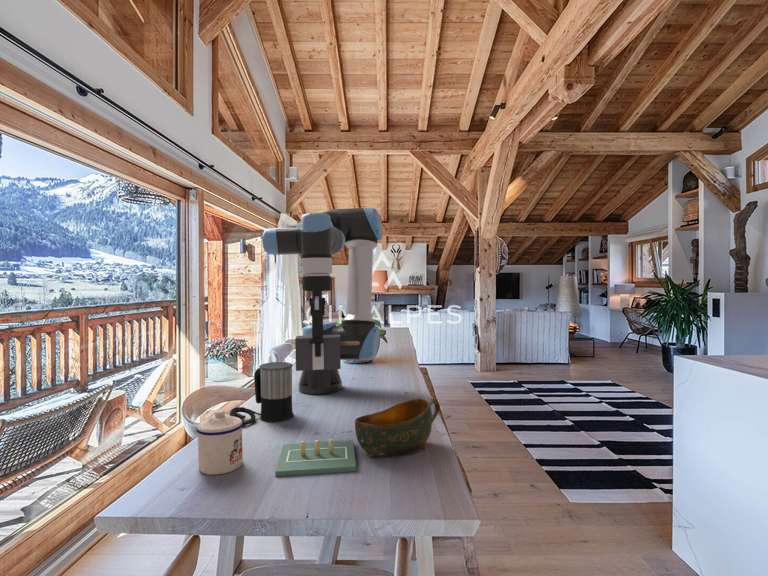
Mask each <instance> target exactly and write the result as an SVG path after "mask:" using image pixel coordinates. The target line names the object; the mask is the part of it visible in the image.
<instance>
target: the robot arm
mask: <svg viewBox="0 0 768 576" xmlns="http://www.w3.org/2000/svg"><path fill="white" fill-rule="evenodd" d="M300 219H301V220H300V222H297V223H294V224H291V225H287V226H283V227H277V226H276V227H269V228H268V227H267V228H266V229H265V230H264V231H263V234H262V238H261V241H262V247H263V250H264V252H265V253H267V254H268V255H271V256H273V255H276V256H280V255H301V261H300V262H299V263H298V264H299V267H301V273H302V275H304V276H302V278H301V289H302V291H304V292H312V297H311V298H310V297H309V298H308V299H309V301H308V304H309V307H310V309H309V310H310V316H311V324H308V325H306V326H304V327H303V330H302V336H306V335H312V341H310V344H312V354H313V370H305V371H301V374H300V377H299V381H298V391H299V392H300V393H301V394H308V395H327V394H333V393H337V392H339V391H341V390H342V389H343V380H342V377H341V374H340V372H339V369H330V370H320V369H324V346H323V335H340V342H346V341H359V342H360V344H359V345H344V346H342V345H340V360H341V361H342V360H343V361H360V362H362V361H372V360H373V359H374V358H375V357H376V355H377V353H378V350H379V346H380V340H381V329H380V327H379V326H378V325H376V320H375V319H374V318H373V317H372V297H373V296H372V295H373V294H372V293H373V290H372V289H373V266H374V265H373V264H374V262H373V261H374V259H373V258H374V257H373V256H374V249H376V248H377V247H378V241H379V242H380V241H381V240H382V239H383V227H382V221H381V216H380V214H379V211H378V210H377V209H376V208H374V207H365V206H364V207H357V208H353V207H352V208H351V207H350V208H335V209H329V210H326V211H324V212H308V213H304V214H302V216H301V218H300ZM345 246H346V247H347V249H348V263H347V264H348V266H347V267H348V268H347V293H346V294H347V295H346V298H347V299H346V316H344V318H343V319H342V320H341V325H337V322H336V321H326V322H325V321H324V316H325V315H326V314H325V312H326V310H325V309H326V307H325V306H326V297H323V292H329V291H332V290H333V277H332V276H331V274H332V273H333V258H332V255H335V254H338V253H340V252H342V250H343V249H344V247H345Z"/></svg>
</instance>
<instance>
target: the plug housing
mask: <svg viewBox="0 0 768 576" xmlns="http://www.w3.org/2000/svg"><path fill="white" fill-rule="evenodd" d="M294 341H295V343H294V345H295V346H294V347H295V349H294V350H295V371H296V372H297V371H298V372H302V371H305V370H313V354H312V344H310V341H312V335H306V336H303V335H296V337H295V340H294ZM359 344H360V342H359V341H346V342H340V335H323V346H324V369H320V370H330V369H338V370H341V368H342V367H341V365H342V364H341V361H342V360H340V345H342V346H344V345H359Z"/></svg>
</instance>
